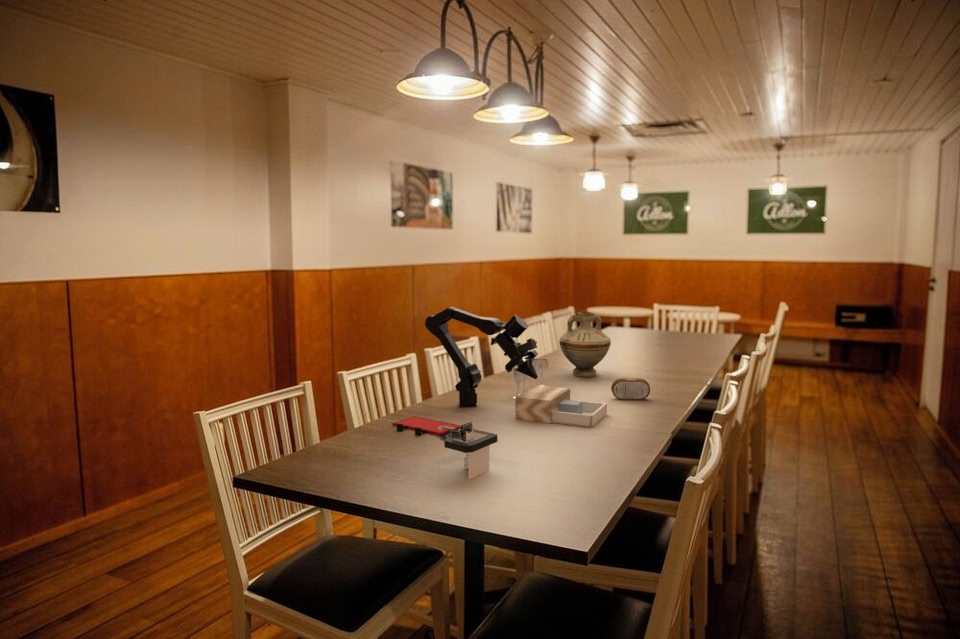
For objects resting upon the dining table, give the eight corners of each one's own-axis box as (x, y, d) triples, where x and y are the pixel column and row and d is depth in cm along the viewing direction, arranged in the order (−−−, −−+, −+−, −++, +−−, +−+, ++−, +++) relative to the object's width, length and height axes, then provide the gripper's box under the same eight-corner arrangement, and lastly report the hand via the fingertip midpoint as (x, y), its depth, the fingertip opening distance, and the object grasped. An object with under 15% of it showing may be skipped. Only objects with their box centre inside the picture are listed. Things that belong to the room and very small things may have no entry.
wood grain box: (515, 418, 221) (515, 396, 220) (536, 405, 239) (536, 385, 238) (550, 423, 215) (550, 400, 214) (570, 409, 233) (570, 388, 232)
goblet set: (521, 400, 248) (521, 367, 247) (508, 398, 251) (508, 366, 250) (550, 385, 272) (550, 356, 271) (538, 384, 275) (538, 355, 274)
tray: (550, 422, 216) (550, 411, 216) (567, 409, 232) (567, 399, 232) (591, 427, 209) (591, 416, 209) (606, 414, 225) (606, 403, 225)
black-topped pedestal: (465, 450, 189) (464, 407, 188) (537, 468, 173) (537, 421, 171) (398, 477, 168) (397, 429, 166) (473, 501, 151) (472, 448, 150)
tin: (649, 398, 247) (649, 377, 246) (650, 400, 244) (651, 379, 243) (611, 398, 249) (611, 377, 248) (611, 400, 246) (612, 379, 245)
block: (558, 403, 220) (577, 405, 217) (564, 399, 226) (582, 401, 222) (558, 416, 221) (577, 419, 218) (564, 412, 226) (582, 414, 223)
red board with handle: (450, 444, 194) (480, 433, 206) (450, 435, 194) (480, 425, 206) (384, 429, 213) (415, 420, 225) (384, 421, 213) (414, 412, 224)
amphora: (617, 373, 296) (618, 310, 293) (598, 382, 276) (599, 315, 273) (571, 368, 309) (571, 308, 305) (550, 377, 289) (550, 313, 285)
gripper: (513, 335, 219) (542, 369, 215) (533, 328, 235) (560, 359, 231) (493, 355, 223) (521, 388, 220) (514, 347, 240) (540, 378, 236)
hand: (536, 378), depth 226 cm, fingers closed
